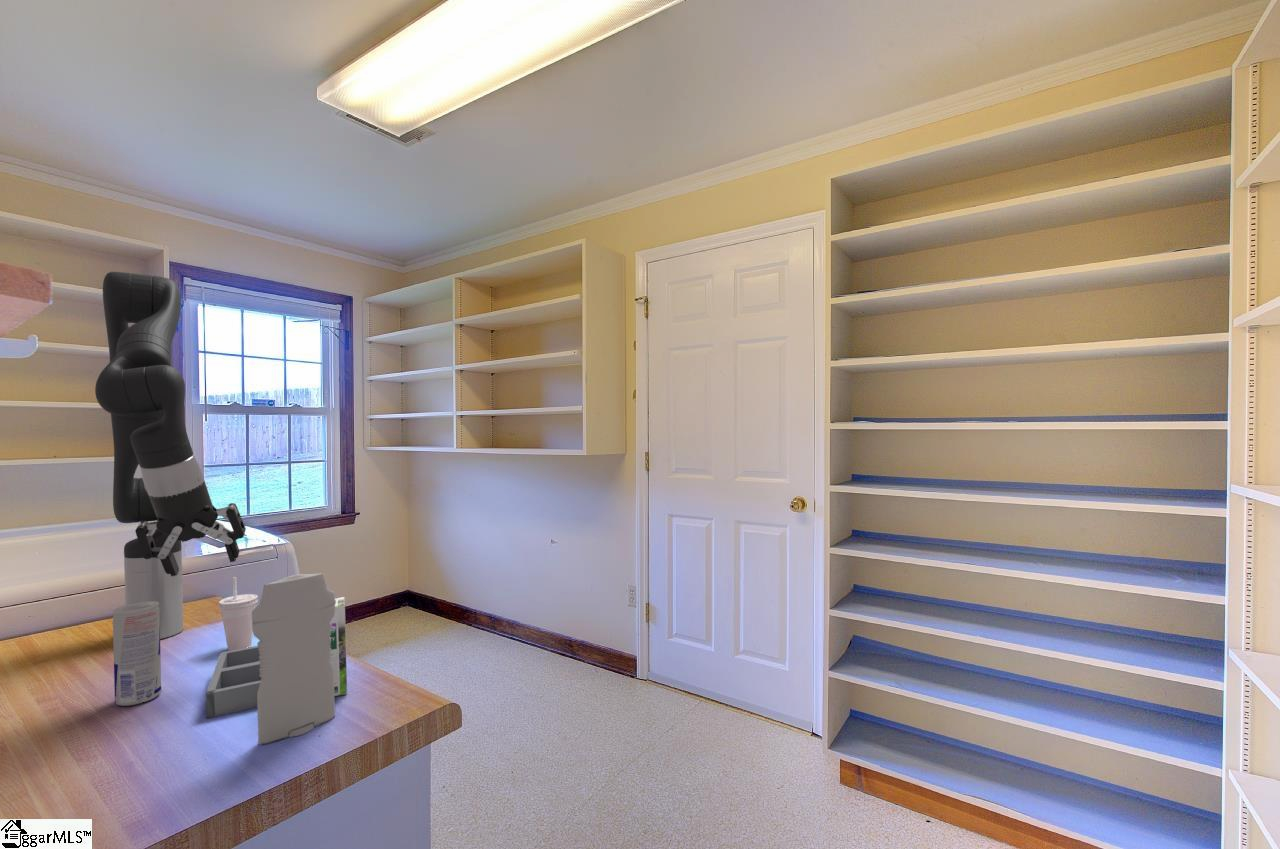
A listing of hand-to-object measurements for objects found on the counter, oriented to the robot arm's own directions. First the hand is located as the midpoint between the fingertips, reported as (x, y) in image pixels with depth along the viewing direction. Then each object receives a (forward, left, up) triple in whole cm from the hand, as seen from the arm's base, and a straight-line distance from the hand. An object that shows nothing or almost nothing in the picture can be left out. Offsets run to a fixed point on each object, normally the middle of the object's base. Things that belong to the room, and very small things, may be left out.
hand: (205, 566), depth 101 cm
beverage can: (+6, -8, -19) cm, 22 cm away
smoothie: (-11, +4, -19) cm, 22 cm away
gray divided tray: (+11, +7, -19) cm, 23 cm away
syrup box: (+20, +18, -19) cm, 33 cm away
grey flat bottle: (+31, +14, -19) cm, 39 cm away
